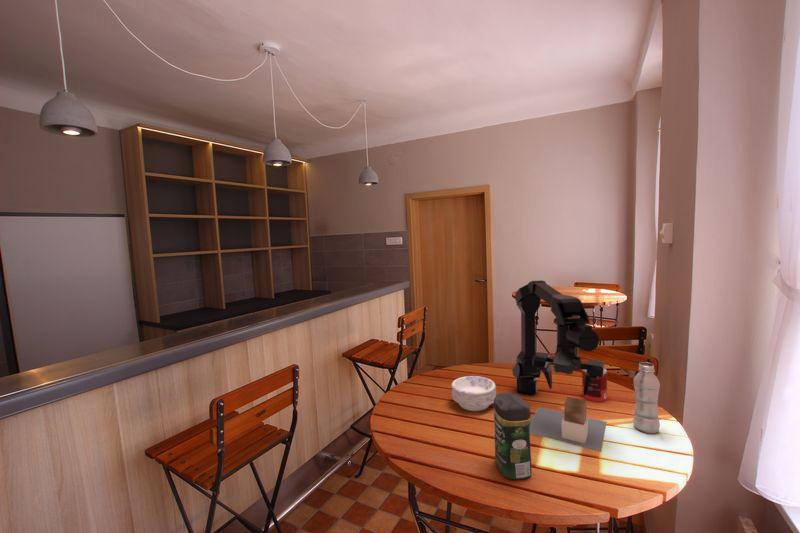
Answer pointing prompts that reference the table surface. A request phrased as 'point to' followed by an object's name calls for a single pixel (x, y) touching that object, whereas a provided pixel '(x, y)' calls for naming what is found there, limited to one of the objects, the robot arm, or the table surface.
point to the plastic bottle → (646, 399)
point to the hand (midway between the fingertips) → (567, 391)
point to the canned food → (596, 388)
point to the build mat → (551, 427)
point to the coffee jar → (512, 436)
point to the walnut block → (575, 410)
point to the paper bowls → (473, 392)
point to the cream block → (575, 431)
